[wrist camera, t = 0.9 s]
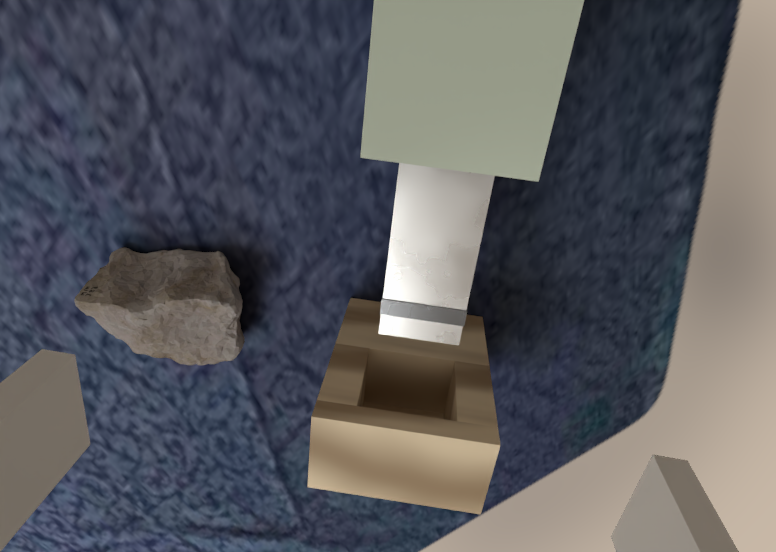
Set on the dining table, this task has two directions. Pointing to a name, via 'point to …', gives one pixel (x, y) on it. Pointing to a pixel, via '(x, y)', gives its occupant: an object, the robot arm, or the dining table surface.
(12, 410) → the robot arm
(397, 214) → the grey-banded white peg
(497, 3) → the sleeve
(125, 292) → the stone
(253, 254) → the dining table surface
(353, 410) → the socket block
